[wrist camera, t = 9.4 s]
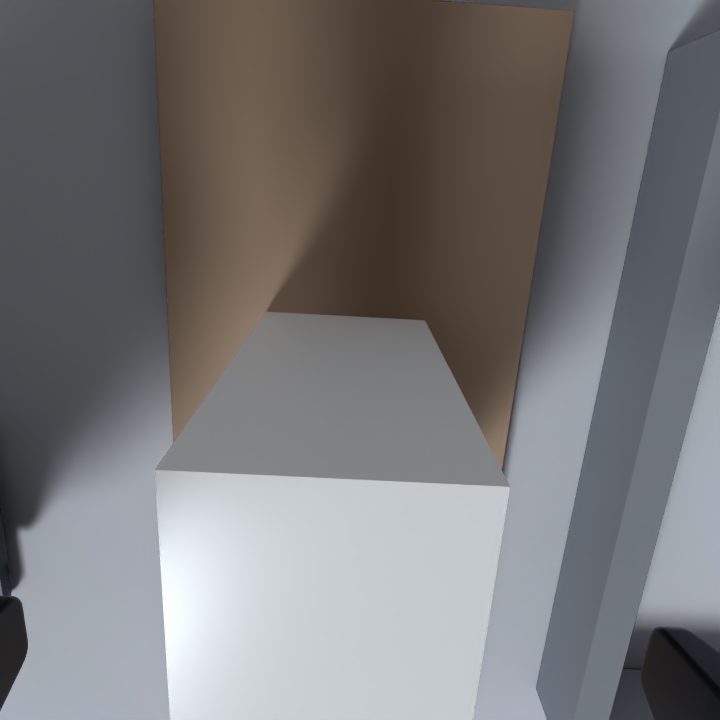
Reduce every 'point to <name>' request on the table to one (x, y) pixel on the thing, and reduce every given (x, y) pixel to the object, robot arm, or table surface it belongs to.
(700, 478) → the table surface
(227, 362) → the walnut board
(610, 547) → the case
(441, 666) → the block
